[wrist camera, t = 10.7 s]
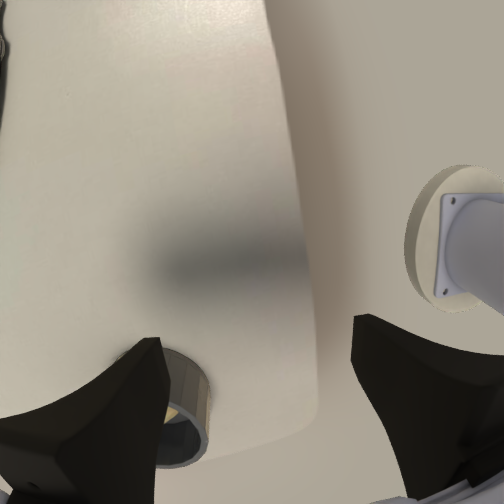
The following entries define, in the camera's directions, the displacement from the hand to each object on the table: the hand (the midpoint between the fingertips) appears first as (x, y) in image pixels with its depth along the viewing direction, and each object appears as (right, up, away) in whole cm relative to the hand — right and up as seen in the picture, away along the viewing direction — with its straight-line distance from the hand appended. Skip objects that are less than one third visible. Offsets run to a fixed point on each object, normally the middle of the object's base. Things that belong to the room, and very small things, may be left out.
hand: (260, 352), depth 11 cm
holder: (-8, -7, +12) cm, 16 cm away
